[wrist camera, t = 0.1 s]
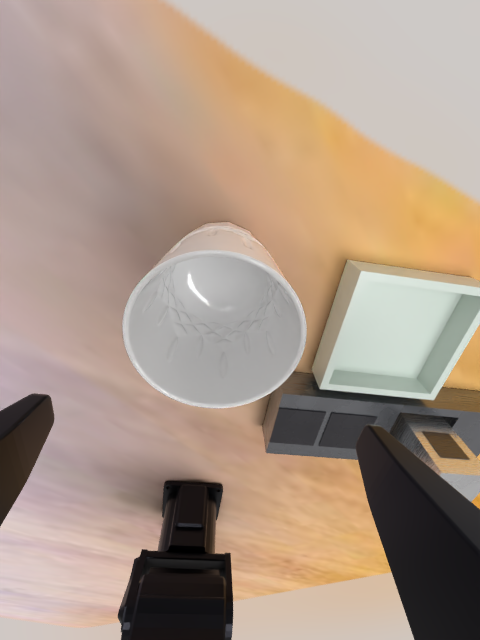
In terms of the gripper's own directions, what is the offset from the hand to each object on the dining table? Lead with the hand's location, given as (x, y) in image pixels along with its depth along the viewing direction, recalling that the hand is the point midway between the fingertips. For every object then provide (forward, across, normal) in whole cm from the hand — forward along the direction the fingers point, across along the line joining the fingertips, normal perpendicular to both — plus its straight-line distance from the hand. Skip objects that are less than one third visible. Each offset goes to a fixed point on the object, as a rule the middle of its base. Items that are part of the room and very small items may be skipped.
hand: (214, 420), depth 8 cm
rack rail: (+15, -16, +12) cm, 25 cm away
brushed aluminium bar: (+15, -19, +12) cm, 27 cm away
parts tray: (+15, -14, +3) cm, 20 cm away
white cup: (+15, 0, 0) cm, 15 cm away
